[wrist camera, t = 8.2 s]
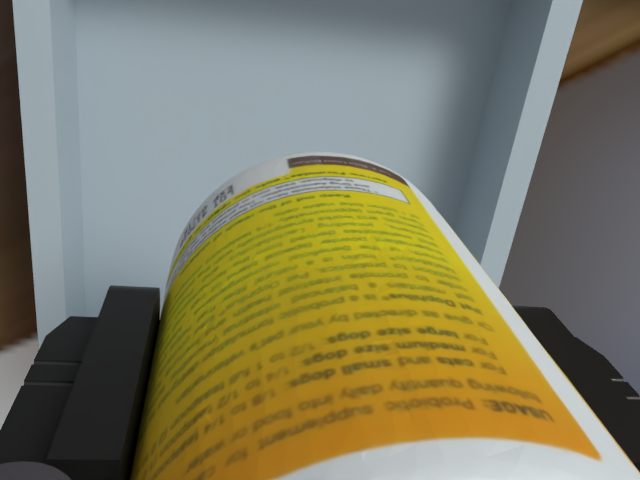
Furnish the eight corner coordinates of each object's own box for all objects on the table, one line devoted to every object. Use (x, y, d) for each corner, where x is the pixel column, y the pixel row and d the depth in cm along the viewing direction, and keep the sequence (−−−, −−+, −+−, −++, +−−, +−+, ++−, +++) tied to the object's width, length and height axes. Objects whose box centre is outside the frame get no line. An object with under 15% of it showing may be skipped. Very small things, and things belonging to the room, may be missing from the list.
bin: (42, -129, 15) (1, -144, 13) (542, -50, 18) (597, -49, 15) (66, 326, 21) (41, 382, 18) (441, 340, 23) (468, 392, 21)
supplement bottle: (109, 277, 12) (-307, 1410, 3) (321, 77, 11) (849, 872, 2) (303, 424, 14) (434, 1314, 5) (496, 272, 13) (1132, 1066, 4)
